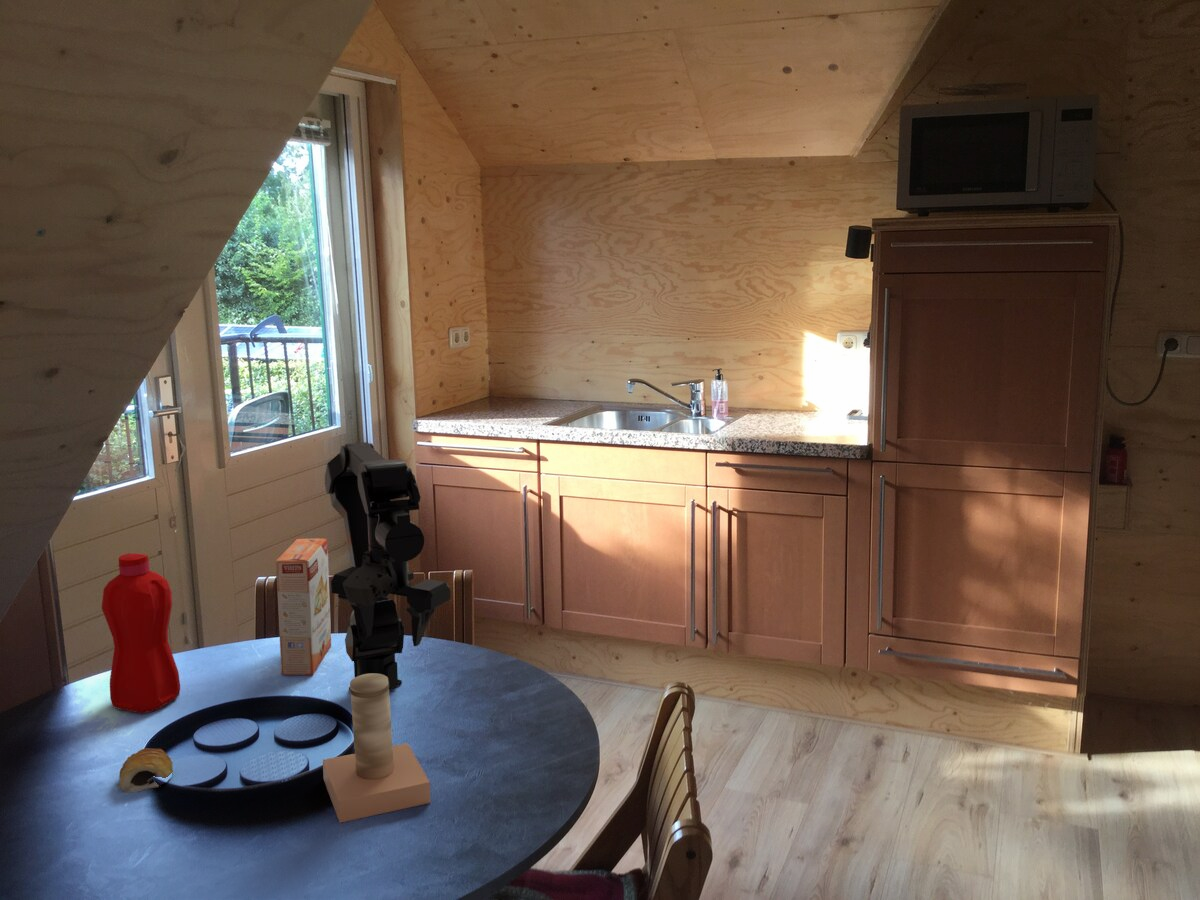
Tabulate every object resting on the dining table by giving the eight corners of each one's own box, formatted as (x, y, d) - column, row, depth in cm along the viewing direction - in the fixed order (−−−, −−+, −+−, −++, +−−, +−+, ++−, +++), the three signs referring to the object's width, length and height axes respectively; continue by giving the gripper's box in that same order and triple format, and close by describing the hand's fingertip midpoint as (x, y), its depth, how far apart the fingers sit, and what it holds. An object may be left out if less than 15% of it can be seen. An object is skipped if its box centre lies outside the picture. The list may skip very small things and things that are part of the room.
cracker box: (315, 676, 179) (309, 560, 175) (280, 676, 179) (272, 560, 175) (334, 645, 193) (328, 536, 189) (301, 645, 193) (295, 536, 189)
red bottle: (197, 690, 174) (185, 546, 169) (148, 718, 164) (134, 566, 159) (152, 682, 177) (140, 541, 172) (102, 709, 167) (87, 559, 162)
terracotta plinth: (339, 822, 134) (338, 801, 134) (323, 779, 145) (322, 759, 145) (430, 802, 139) (429, 782, 139) (408, 762, 150) (407, 743, 149)
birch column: (348, 775, 140) (341, 686, 137) (370, 757, 145) (364, 670, 142) (379, 782, 138) (373, 692, 135) (401, 764, 143) (396, 676, 140)
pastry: (125, 764, 150) (123, 739, 149) (176, 757, 152) (174, 733, 151) (118, 796, 141) (116, 770, 140) (172, 789, 143) (170, 763, 142)
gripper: (303, 549, 155) (309, 648, 158) (406, 566, 147) (410, 670, 150) (351, 531, 165) (356, 624, 168) (451, 545, 157) (453, 643, 160)
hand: (392, 640), depth 161 cm, fingers open, 9 cm apart
